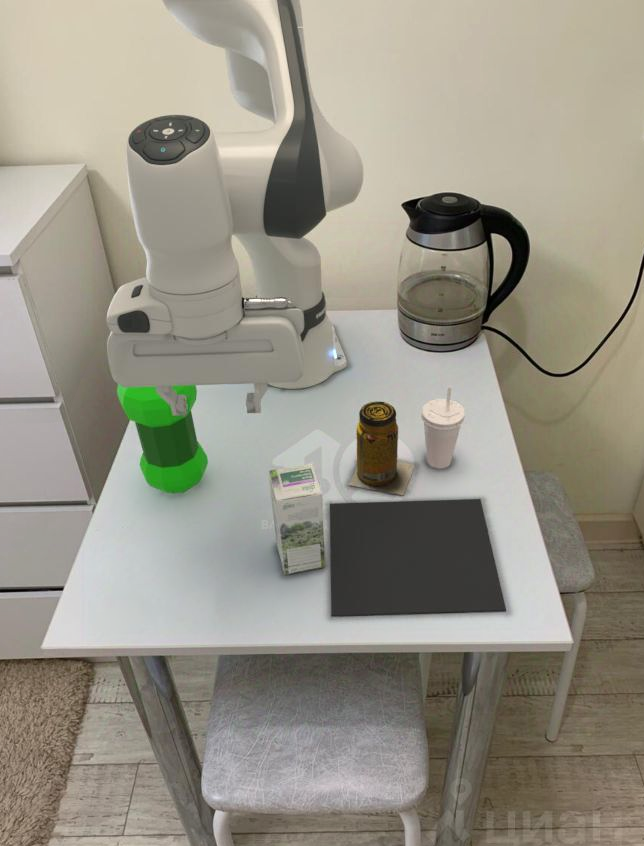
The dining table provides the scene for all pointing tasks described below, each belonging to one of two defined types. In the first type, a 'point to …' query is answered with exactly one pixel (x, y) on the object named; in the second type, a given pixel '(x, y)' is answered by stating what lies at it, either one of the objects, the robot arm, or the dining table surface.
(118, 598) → the dining table surface
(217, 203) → the robot arm
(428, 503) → the mat
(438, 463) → the smoothie
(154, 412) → the plastic bottle
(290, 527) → the syrup box
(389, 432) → the condiment
